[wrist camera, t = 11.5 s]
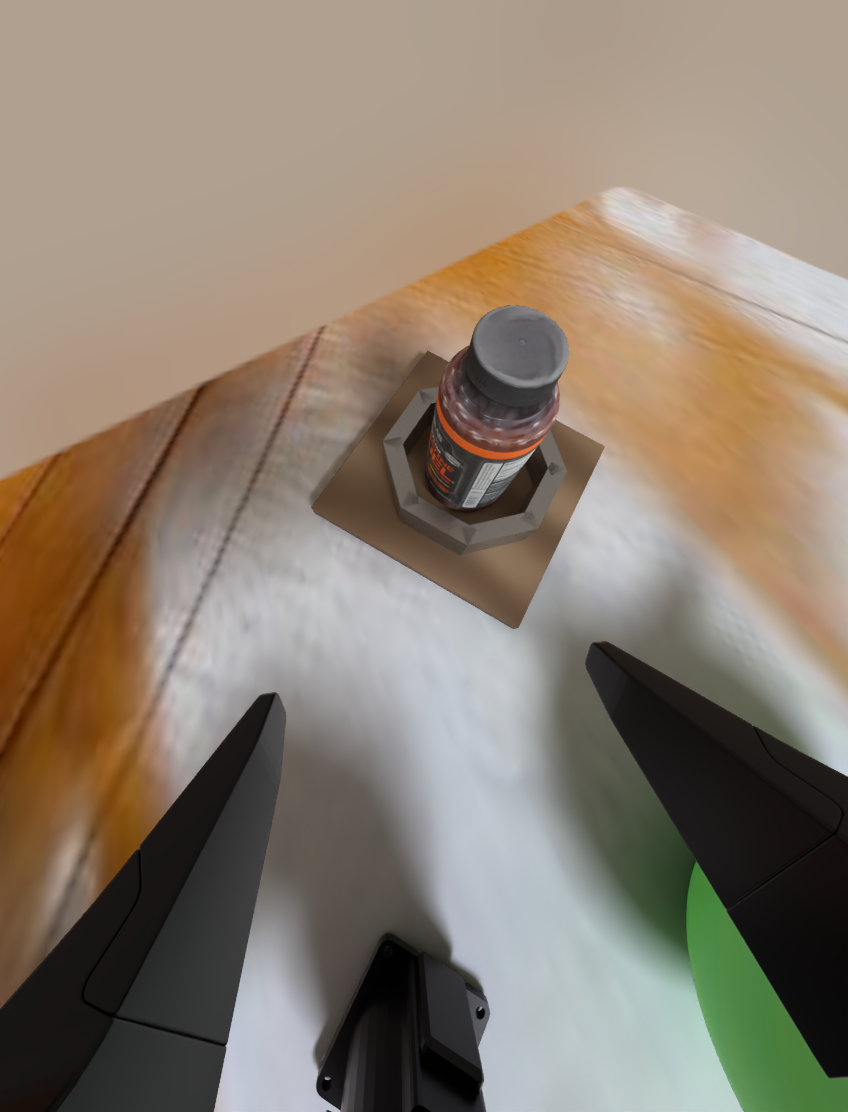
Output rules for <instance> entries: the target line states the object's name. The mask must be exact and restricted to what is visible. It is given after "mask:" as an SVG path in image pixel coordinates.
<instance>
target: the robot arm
mask: <svg viewBox="0 0 848 1112" xmlns="http://www.w3.org/2000/svg"><path fill="white" fill-rule="evenodd" d="M585 664H586V669H587V671H588V673H589V675H590V677H591V679H592V682H593V684H594V686H595V688H596V690H597V692H598V694H599V696H600V698H601V700H602V702H603V704H604V706H605V709H606V711H607V713H608V714H609V716H610V718H611V720H612V722H613V724H614V725H615V727H616V729H617V730H618V732H619V734H620V735H621V737H622V739H623V740H624V742H625V744H626V745H627V747H628V749H629V750H630V752H631V754H632V755H633V757H634V759H635V760H636V762H637V763H638V765H639V767H640V768H641V770H642V772H643V773H644V775H645V777H646V778H647V780H648V782H649V783H650V785H651V787H652V788H653V790H654V792H655V793H656V795H657V797H658V798H659V800H660V802H661V803H662V805H663V807H664V808H665V810H666V812H667V813H668V815H669V816H670V818H671V820H672V821H673V823H674V825H675V826H676V828H677V830H678V831H679V833H680V835H681V836H682V838H683V840H684V841H685V843H686V845H687V846H688V848H689V850H690V851H691V853H692V855H693V856H694V858H695V860H696V861H697V863H698V865H699V866H700V868H701V870H702V871H703V873H704V874H705V876H706V878H707V879H708V881H709V883H710V884H711V886H712V888H713V889H714V891H715V893H716V894H717V896H718V898H719V899H720V901H721V903H722V904H723V906H724V907H725V908H726V911H727V913H728V915H729V916H730V918H731V920H732V921H733V923H734V925H735V926H736V928H737V930H738V931H739V933H740V935H741V936H742V938H743V940H744V941H745V943H746V945H747V946H748V948H749V949H750V951H751V953H752V954H753V956H754V958H755V959H756V961H757V963H758V964H759V966H760V968H761V969H762V971H763V973H764V974H765V976H766V978H767V979H768V981H769V983H770V984H771V986H772V988H773V989H774V991H775V993H776V994H777V996H778V997H779V999H780V1001H781V1002H782V1004H783V1006H784V1007H785V1009H786V1011H787V1012H788V1014H789V1016H790V1017H791V1019H792V1021H793V1022H794V1024H795V1026H796V1027H797V1029H798V1031H799V1032H800V1034H801V1036H802V1037H803V1039H804V1041H805V1042H806V1044H807V1045H808V1047H809V1049H810V1050H811V1052H812V1054H813V1055H814V1057H815V1059H816V1060H817V1062H818V1063H819V1065H820V1067H821V1068H822V1069H823V1071H824V1072H825V1074H826V1075H827V1077H828V1078H829V1079H838V1078H848V776H846V775H844V774H842V773H840V772H838V771H836V770H834V769H832V768H830V767H828V766H826V765H824V764H823V763H821V762H819V761H817V760H815V759H813V758H811V757H809V756H807V755H805V754H804V753H802V752H800V751H798V750H796V749H795V748H793V747H791V746H789V745H787V744H786V743H784V742H782V741H780V740H778V739H777V738H775V737H773V736H771V735H769V734H768V733H766V732H764V731H763V730H761V729H759V728H757V727H755V726H752V725H751V724H750V723H748V722H747V721H745V720H743V719H741V718H740V717H738V716H736V715H734V714H733V713H731V712H729V711H727V710H726V709H724V708H722V707H720V706H719V705H717V704H715V703H714V702H712V701H710V700H708V699H707V698H705V697H703V696H701V695H700V694H698V693H696V692H694V691H693V690H691V689H689V688H687V687H686V686H684V685H682V684H680V683H679V682H677V681H675V680H673V679H672V678H670V677H668V676H666V675H665V674H663V673H661V672H659V671H658V670H656V669H654V668H653V667H651V666H649V665H647V664H646V663H644V662H642V661H640V660H639V659H637V658H635V657H633V656H632V655H630V654H628V653H626V652H625V651H623V650H621V649H619V648H618V647H616V646H614V645H612V644H611V643H609V642H606V641H600V642H594V643H592V644H591V645H590V648H589V651H588V655H587V658H586V662H585ZM285 724H286V712H285V709H284V707H283V704H282V702H281V699H280V697H279V695H278V693H276V692H273V693H266V694H262V695H260V696H259V697H258V698H257V699H256V700H255V702H254V703H253V704H252V706H251V707H250V708H249V709H248V711H247V712H246V713H245V714H244V716H243V717H242V718H241V719H240V721H239V722H238V723H237V724H236V726H235V727H234V728H233V729H232V731H231V732H230V733H229V734H228V736H227V737H226V738H225V739H224V741H223V742H222V743H221V744H220V746H219V747H218V748H217V749H216V751H215V752H214V753H213V754H212V756H211V757H210V758H209V760H208V761H207V762H206V763H205V765H204V766H203V767H202V768H201V770H200V771H199V772H198V773H197V775H196V776H195V777H194V778H193V780H192V781H191V782H190V783H189V785H188V786H187V787H186V788H185V790H184V791H183V792H182V793H181V795H180V796H179V797H178V798H177V800H176V801H175V802H174V803H173V805H172V806H171V807H170V808H169V810H168V811H167V812H166V814H165V815H164V816H163V817H162V819H161V820H160V821H159V822H158V824H157V825H156V826H155V827H154V829H153V830H152V831H151V832H150V834H149V835H148V836H147V837H146V839H145V840H144V841H143V842H142V844H141V845H140V850H139V849H138V850H136V851H135V852H134V853H133V855H132V856H131V857H130V858H129V860H128V861H127V862H126V864H125V865H124V866H123V867H122V869H121V870H120V871H119V872H118V874H117V875H116V876H115V877H114V878H113V880H112V881H111V882H110V883H109V884H108V886H107V887H106V888H105V889H104V891H103V892H102V893H101V894H100V895H99V897H98V898H97V899H96V900H95V902H94V903H93V904H92V905H91V906H90V908H89V909H88V910H87V911H86V912H85V913H84V914H83V916H82V917H81V918H80V919H79V920H78V921H77V923H76V924H75V925H74V926H73V927H72V928H71V929H70V931H69V932H68V933H67V934H66V935H65V936H64V938H63V939H62V940H61V941H60V942H59V943H58V944H57V946H56V947H55V948H54V949H53V950H52V951H51V952H50V953H49V955H48V956H47V957H46V958H45V959H44V960H43V961H42V962H41V964H40V965H39V966H38V967H37V968H36V969H35V970H34V971H33V973H32V974H31V975H30V976H29V977H28V978H27V979H26V980H25V982H24V983H23V984H22V985H21V986H20V987H19V988H18V989H17V991H16V992H15V993H14V994H13V995H12V996H11V997H10V998H9V1000H8V1001H7V1002H6V1003H5V1004H4V1005H3V1006H2V1007H1V1009H0V1112H214V1108H215V1103H216V1098H217V1093H218V1088H219V1083H220V1078H221V1073H222V1068H223V1063H224V1058H225V1053H226V1044H227V1042H228V1037H229V1032H230V1027H231V1022H232V1017H233V1012H234V1007H235V1002H236V997H237V992H238V987H239V982H240V977H241V972H242V967H243V962H244V958H245V953H246V948H247V943H248V938H249V933H250V928H251V923H252V918H253V913H254V908H255V903H256V898H257V893H258V888H259V883H260V878H261V873H262V868H263V863H264V858H265V853H266V848H267V843H268V838H269V833H270V828H271V824H272V819H273V814H274V809H275V804H276V799H277V794H278V788H279V783H280V775H281V766H282V755H283V745H284V734H285ZM385 946H391V948H392V949H391V950H389V951H385V950H384V948H385ZM479 1006H481V1007H483V1008H482V1009H481V1010H480V1011H476V1009H477V1007H479ZM489 1015H490V1011H489V1005H488V1002H487V999H486V996H485V995H484V994H483V993H481V992H480V991H478V990H477V989H475V988H474V987H472V986H471V985H469V984H468V983H466V982H465V981H464V978H463V977H462V976H461V975H459V974H458V973H456V972H455V971H453V970H451V969H450V968H448V967H447V966H445V965H444V964H442V963H441V962H439V961H438V960H436V959H435V958H433V957H432V956H430V955H429V954H427V953H426V952H419V951H417V950H416V949H414V948H413V947H411V946H410V945H408V944H407V943H405V942H404V941H402V940H401V939H399V938H398V937H396V936H395V935H393V934H390V933H387V934H385V935H383V936H382V937H381V939H380V940H379V942H378V945H377V947H376V949H375V951H374V953H373V955H372V957H371V959H370V962H369V964H368V966H367V968H366V970H365V972H364V974H363V976H362V979H361V981H360V983H359V985H358V987H357V989H356V991H355V993H354V996H353V998H352V1000H351V1002H350V1004H349V1006H348V1008H347V1010H346V1013H345V1015H344V1017H343V1019H342V1021H341V1023H340V1025H339V1027H338V1030H337V1032H336V1034H335V1036H334V1038H333V1040H332V1042H331V1045H330V1047H329V1049H328V1051H327V1053H326V1055H325V1057H324V1059H323V1062H322V1064H321V1066H320V1068H319V1072H318V1077H317V1082H316V1089H317V1092H318V1094H319V1095H320V1096H321V1097H322V1098H323V1099H325V1100H326V1101H328V1102H329V1103H330V1104H332V1105H333V1106H335V1107H336V1108H338V1109H339V1110H340V1111H341V1112H486V1108H485V1103H484V1098H483V1093H482V1085H483V1082H484V1075H483V1070H482V1065H481V1060H480V1055H479V1050H478V1046H479V1043H480V1041H481V1038H482V1035H483V1033H484V1030H485V1027H486V1025H487V1022H488V1019H489ZM327 1076H329V1077H331V1079H330V1080H325V1077H327ZM326 1112H331V1111H329V1110H327V1111H326Z"/></svg>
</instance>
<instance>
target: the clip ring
mask: <svg viewBox="0 0 848 1112" xmlns="http://www.w3.org/2000/svg"><path fill="white" fill-rule="evenodd" d="M438 389H439V387H435V388H428V389H422V390H419V391H418V393H417V394H416V395H415V397H414V398H413V400H412V401H411V402H410V404H409V405H408V406H407V408H406V409H405V411H404V412H403V413H402V415H401V416H400V418H399V419H398V420H397V422H396V423H395V425H394V426H393V427H392V429H391V430H390V432H389V433H388V434H387V436H386V437H385V438H384V440H383V441H382V442H383V458H384V463H385V467H386V471H387V474H388V478H389V482H390V486H391V489H392V493H393V497H394V501H395V505H396V508H397V512H398V516H399V521H400V522H402V523H404V524H405V525H407V526H409V527H411V528H412V529H414V530H416V531H418V532H419V533H421V534H423V535H425V536H426V537H428V538H430V539H431V540H433V541H435V542H437V543H438V544H440V545H442V546H444V547H445V548H447V549H449V550H451V551H452V552H454V553H456V554H457V555H459V556H460V555H465V554H469V553H473V552H477V551H481V550H485V549H489V548H493V547H497V546H501V545H506V544H510V543H514V542H518V541H522V540H524V539H526V538H527V537H528V536H530V535H531V534H532V533H533V532H535V531H536V530H537V529H538V528H539V526H540V524H541V522H542V520H543V518H544V516H545V514H546V512H547V510H548V508H549V506H550V504H551V502H552V500H553V498H554V496H555V494H556V492H557V490H558V488H559V486H560V484H561V482H562V480H563V478H564V476H565V474H566V472H567V470H566V467H565V465H564V462H563V460H562V457H561V455H560V452H559V450H558V447H557V445H556V442H555V440H554V438H553V435H552V433H551V430H549V432H548V433H547V434H546V436H545V437H544V438H543V440H542V441H541V443H540V444H539V446H538V447H537V448H536V449H535V451H534V452H533V453H532V455H531V456H530V457H529V459H528V460H527V461H526V463H525V465H526V468H527V471H528V474H529V476H530V479H531V482H532V484H533V486H532V488H531V490H530V492H529V494H528V495H527V497H526V499H525V501H524V503H523V505H522V507H521V509H520V511H519V512H518V514H517V515H512V516H508V517H504V518H499V519H495V520H491V521H486V522H482V523H478V524H473V525H468V524H466V523H464V522H462V521H461V520H459V519H457V518H455V517H454V516H452V515H450V514H448V513H447V512H445V511H443V510H441V509H440V508H438V507H436V506H434V505H433V504H431V503H429V502H427V501H426V500H424V499H422V498H420V497H419V496H417V493H416V489H415V486H414V482H413V479H412V475H411V472H410V468H409V465H408V461H407V458H406V457H407V456H408V454H409V453H410V452H411V450H412V449H413V447H414V446H415V444H416V443H417V441H418V440H419V438H420V437H421V435H422V434H423V432H424V431H425V430H426V428H427V427H429V426H432V423H433V417H434V411H435V404H436V399H437V395H438Z"/></svg>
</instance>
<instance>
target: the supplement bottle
mask: <svg viewBox="0 0 848 1112" xmlns="http://www.w3.org/2000/svg"><path fill="white" fill-rule="evenodd" d="M568 357H569V345H568V342H567V338H566V336H565V334H564V332H563V330H562V329H561V328H559V326H558V324H557V323H556V322H555V321H553V320H552V319H551V318H550V317H548V316H547V315H545V314H544V313H542V312H539V311H538V310H535V309H531V308H529V307H525V306H518V305H516V306H511V305H508V306H504V307H500V308H497V309H494V310H492V311H490V312H488V313H487V314H486V315H484V316H483V317H482V318H481V319H480V321H479V322H478V323H477V325H476V327H475V329H474V332H473V335H472V339H471V342H470V346H467V347H465V348H464V349H462V350H461V351H459V352H458V353H457V354H456V355H455V356H454V357H453V358H452V359H451V361H450V362H449V363H448V364H447V366H446V368H445V370H444V372H443V375H442V378H441V381H440V384H439V389H438V395H437V399H436V404H435V411H434V417H433V423H432V428H431V434H430V439H429V445H428V449H427V456H426V461H425V477H426V482H427V485H428V487H429V489H430V491H431V492H432V494H433V495H434V496H435V497H436V499H437V500H439V501H440V502H441V503H442V504H444V505H446V506H447V507H448V508H450V509H454V510H457V511H465V512H472V511H478V510H482V509H484V508H486V507H488V506H490V505H491V504H493V503H494V502H495V501H496V500H497V499H498V498H499V497H500V496H501V494H502V493H503V492H504V491H505V489H506V488H507V486H508V485H509V484H510V483H511V481H512V480H513V479H514V477H515V476H516V475H517V473H518V472H519V471H520V469H521V468H522V467H523V465H524V464H525V463H526V461H527V460H528V459H529V457H530V456H531V455H532V453H533V452H534V451H535V449H536V448H537V447H538V446H539V444H540V443H541V441H542V440H543V438H544V437H545V436H546V434H547V433H548V432H549V430H550V428H551V427H552V425H553V423H554V422H555V420H556V417H557V414H558V411H559V406H560V393H559V387H558V383H557V381H558V379H559V378H560V376H561V375H562V373H563V371H564V369H565V367H566V365H567V363H568Z"/></svg>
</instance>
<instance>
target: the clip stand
mask: <svg viewBox="0 0 848 1112" xmlns="http://www.w3.org/2000/svg"><path fill="white" fill-rule="evenodd" d="M448 363H449V362H448V361H446V360H444V359H442V358H440V357H438V356H437V355H435V354H433V353H431V352H429V351H427V352H426V353H425V355H424V356H423V357H422V359H421V360H420V361H419V363H418V364H417V365H416V367H415V368H414V370H413V371H412V372H411V374H410V375H409V376H408V378H407V379H406V380H405V382H404V383H403V384H402V386H401V387H400V388H399V390H398V391H397V392H396V394H395V395H394V396H393V398H392V399H391V400H390V402H389V403H388V405H387V406H386V407H385V409H384V410H383V411H382V413H381V414H380V415H379V417H378V418H377V419H376V421H375V422H374V423H373V425H372V426H371V427H370V429H369V430H368V431H367V433H366V434H365V435H364V437H363V438H362V440H361V441H360V442H359V444H358V445H357V446H356V448H355V449H354V450H353V452H352V453H351V454H350V456H349V457H348V458H347V460H346V461H345V462H344V464H343V465H342V466H341V468H340V469H339V471H338V472H337V473H336V475H335V476H334V477H333V479H332V480H331V481H330V483H329V484H328V485H327V487H326V488H325V489H324V491H323V492H322V493H321V495H320V496H319V497H318V499H317V500H316V501H315V503H314V504H313V506H312V507H311V508H312V509H313V511H314V513H316V514H317V515H319V516H321V517H323V518H324V519H326V520H328V521H329V522H331V523H333V524H335V525H336V526H338V527H340V528H341V529H343V530H345V531H347V532H348V533H350V534H352V535H353V536H355V537H357V538H359V539H360V540H362V541H364V542H365V543H367V544H369V545H370V546H372V547H374V548H376V549H377V550H379V551H381V552H382V553H384V554H386V555H388V556H389V557H391V558H393V559H394V560H396V561H398V562H400V563H401V564H403V565H405V566H406V567H408V568H410V569H412V570H413V571H415V572H417V573H418V574H420V575H422V576H424V577H425V578H427V579H429V580H430V581H432V582H434V583H435V584H437V585H439V586H441V587H442V588H444V589H446V590H447V591H449V592H451V593H453V594H454V595H456V596H458V597H459V598H461V599H463V600H465V601H466V602H468V603H470V604H471V605H473V606H475V607H477V608H478V609H480V610H482V611H483V612H485V613H487V614H488V615H490V616H492V617H494V618H495V619H497V620H499V621H500V622H502V623H504V624H506V625H507V626H509V627H511V628H512V629H515V628H518V627H519V625H520V623H521V621H522V619H523V617H524V615H525V613H526V610H527V608H528V606H529V604H530V602H531V600H532V598H533V596H534V594H535V592H536V589H537V587H538V585H539V583H540V581H541V579H542V577H543V575H544V573H545V571H546V569H547V566H548V564H549V562H550V560H551V558H552V556H553V554H554V552H555V550H556V548H557V546H558V543H559V541H560V539H561V537H562V535H563V533H564V531H565V529H566V527H567V525H568V523H569V520H570V518H571V516H572V514H573V512H574V510H575V508H576V506H577V504H578V502H579V500H580V497H581V495H582V493H583V491H584V489H585V487H586V485H587V483H588V481H589V479H590V477H591V474H592V472H593V470H594V468H595V466H596V464H597V462H598V460H599V458H600V456H601V454H602V451H603V449H604V447H605V446H603V445H601V444H599V443H597V442H595V441H594V440H592V439H590V438H588V437H586V436H584V435H583V434H581V433H579V432H577V431H575V430H573V429H571V428H570V427H568V426H566V425H564V424H562V423H560V422H559V421H557V420H555V422H554V423H553V425H552V427H551V428H550V430H551V433H552V435H553V438H554V440H555V442H556V445H557V447H558V450H559V452H560V455H561V457H562V460H563V462H564V465H565V467H566V470H567V472H566V474H565V476H564V478H563V480H562V482H561V484H560V486H559V488H558V490H557V492H556V494H555V496H554V498H553V500H552V502H551V504H550V506H549V508H548V510H547V512H546V514H545V516H544V518H543V520H542V522H541V524H540V526H539V528H538V529H537V530H536V531H535V532H533V533H532V534H531V535H530V536H528V537H527V538H526V539H524V540H522V541H518V542H514V543H510V544H506V545H501V546H497V547H493V548H489V549H485V550H481V551H477V552H473V553H469V554H465V555H460V556H459V555H457V554H456V553H454V552H452V551H451V550H449V549H447V548H445V547H444V546H442V545H440V544H438V543H437V542H435V541H433V540H431V539H430V538H428V537H426V536H425V535H423V534H421V533H419V532H418V531H416V530H414V529H412V528H411V527H409V526H407V525H405V524H404V523H402V522H400V521H399V516H398V512H397V508H396V505H395V501H394V497H393V493H392V489H391V486H390V482H389V478H388V474H387V471H386V467H385V463H384V458H383V442H382V441H383V440H384V438H385V437H386V436H387V434H388V433H389V432H390V430H391V429H392V427H393V426H394V425H395V423H396V422H397V420H398V419H399V418H400V416H401V415H402V413H403V412H404V411H405V409H406V408H407V406H408V405H409V404H410V402H411V401H412V400H413V398H414V397H415V395H416V394H417V393H418V391H419V390H422V389H428V388H435V387H439V384H440V381H441V378H442V375H443V372H444V370H445V368H446V366H447V364H448ZM431 428H432V426H429V427H427V428H426V430H425V431H424V432H423V434H422V435H421V437H420V438H419V440H418V441H417V443H416V444H415V446H414V447H413V449H412V450H411V452H410V453H409V454H408V456H407V457H406V458H407V461H408V465H409V468H410V472H411V475H412V479H413V482H414V486H415V489H416V493H417V496H419V497H420V498H422V499H424V500H426V501H427V502H429V503H431V504H433V505H434V506H436V507H438V508H440V509H441V510H443V511H445V512H447V513H448V514H450V515H452V516H454V517H455V518H457V519H459V520H461V521H462V522H464V523H466V524H468V525H473V524H478V523H482V522H486V521H491V520H495V519H499V518H504V517H508V516H512V515H517V514H518V512H519V511H520V509H521V507H522V505H523V503H524V501H525V499H526V497H527V495H528V494H529V492H530V490H531V488H532V486H533V484H532V482H531V479H530V476H529V474H528V471H527V468H526V465H525V464H524V465H523V467H522V468H521V469H520V471H519V472H518V473H517V475H516V476H515V477H514V479H513V480H512V481H511V483H510V484H509V485H508V486H507V488H506V489H505V491H504V492H503V493H502V494H501V496H500V497H499V498H498V499H497V500H496V501H495V502H494V503H493V504H491V505H490V506H488V507H486V508H484V509H482V510H478V511H472V512H465V511H457V510H454V509H450V508H448V507H447V506H446V505H444V504H442V503H441V502H440V501H439V500H437V499H436V497H435V496H434V495H433V494H432V492H431V491H430V489H429V487H428V485H427V482H426V477H425V461H426V456H427V449H428V445H429V439H430V434H431Z"/></svg>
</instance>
